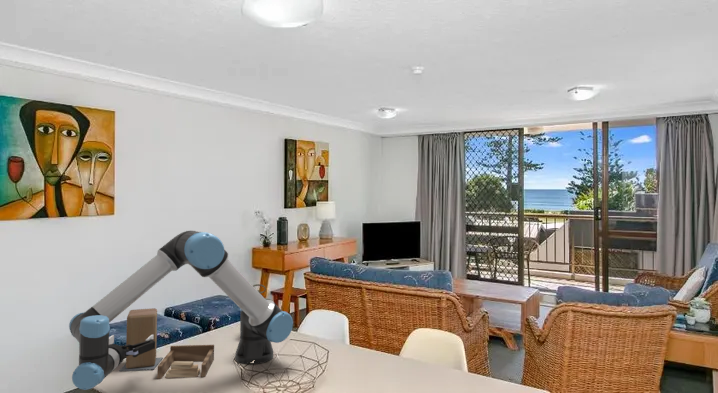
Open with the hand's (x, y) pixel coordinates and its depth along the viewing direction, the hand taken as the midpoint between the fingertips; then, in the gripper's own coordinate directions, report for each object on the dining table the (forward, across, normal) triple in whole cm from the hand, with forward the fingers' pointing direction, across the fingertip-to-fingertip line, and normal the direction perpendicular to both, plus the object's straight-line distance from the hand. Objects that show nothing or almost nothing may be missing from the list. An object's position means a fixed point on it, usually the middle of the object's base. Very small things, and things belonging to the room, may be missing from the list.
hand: (132, 338), depth 162 cm
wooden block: (+10, 0, -13) cm, 16 cm away
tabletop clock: (+40, +41, -13) cm, 58 cm away
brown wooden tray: (+5, +18, -13) cm, 23 cm away
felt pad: (+10, 0, -13) cm, 16 cm away
